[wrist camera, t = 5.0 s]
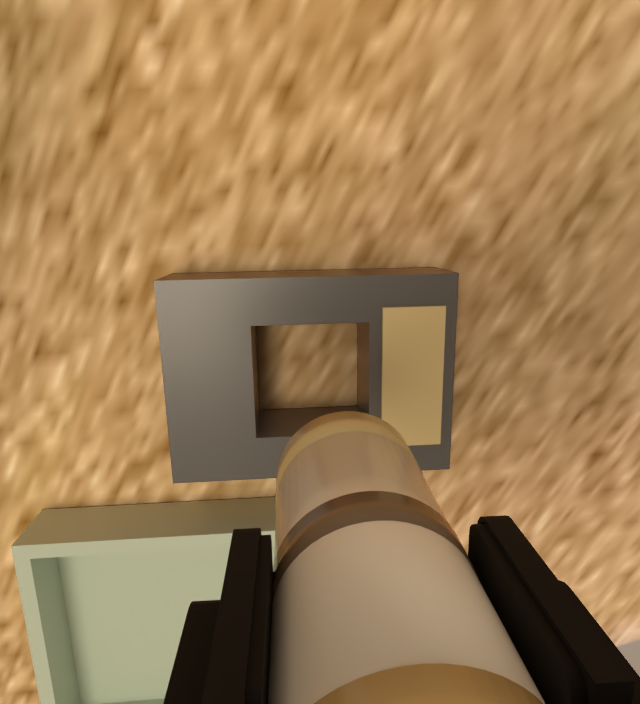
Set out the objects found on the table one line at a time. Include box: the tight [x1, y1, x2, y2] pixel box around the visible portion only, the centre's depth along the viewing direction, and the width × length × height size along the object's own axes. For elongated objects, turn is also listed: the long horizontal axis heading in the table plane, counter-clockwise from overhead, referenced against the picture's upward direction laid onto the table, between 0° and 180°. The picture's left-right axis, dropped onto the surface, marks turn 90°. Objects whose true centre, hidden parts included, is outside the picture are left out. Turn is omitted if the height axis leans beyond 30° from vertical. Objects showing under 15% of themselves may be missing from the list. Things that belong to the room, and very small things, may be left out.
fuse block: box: [154, 267, 459, 483], centre depth 26 cm, size 14×10×4 cm
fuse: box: [268, 411, 545, 704], centre depth 10 cm, size 4×4×10 cm
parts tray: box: [11, 497, 276, 704], centre depth 30 cm, size 17×14×4 cm
